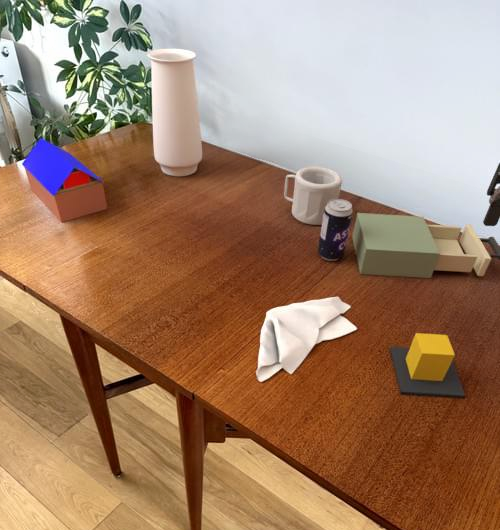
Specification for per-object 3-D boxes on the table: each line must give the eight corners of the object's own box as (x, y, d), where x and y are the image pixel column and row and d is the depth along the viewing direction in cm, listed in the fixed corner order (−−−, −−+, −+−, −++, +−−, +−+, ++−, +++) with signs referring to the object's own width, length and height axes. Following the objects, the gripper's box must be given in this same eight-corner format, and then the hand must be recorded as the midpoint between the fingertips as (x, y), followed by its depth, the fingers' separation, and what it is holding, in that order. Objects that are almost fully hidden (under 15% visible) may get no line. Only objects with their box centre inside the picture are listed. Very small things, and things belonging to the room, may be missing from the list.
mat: (447, 352, 80) (448, 350, 79) (464, 398, 72) (465, 395, 72) (389, 349, 80) (390, 346, 79) (400, 394, 72) (401, 391, 72)
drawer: (484, 242, 105) (491, 225, 102) (505, 277, 95) (514, 260, 92) (405, 237, 105) (410, 220, 102) (417, 272, 95) (424, 254, 92)
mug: (341, 211, 115) (348, 172, 108) (326, 230, 108) (333, 190, 101) (291, 197, 119) (295, 159, 112) (273, 215, 112) (277, 175, 105)
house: (60, 223, 105) (47, 173, 97) (29, 189, 116) (15, 143, 109) (109, 208, 111) (100, 161, 103) (75, 178, 122) (65, 133, 114)
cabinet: (415, 240, 106) (423, 216, 102) (430, 278, 96) (440, 253, 91) (352, 236, 106) (357, 212, 102) (360, 274, 96) (366, 248, 91)
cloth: (319, 285, 92) (320, 276, 91) (373, 322, 85) (376, 312, 83) (214, 341, 79) (214, 331, 78) (267, 390, 72) (268, 380, 70)
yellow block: (435, 360, 77) (447, 334, 73) (442, 381, 74) (455, 355, 70) (405, 359, 77) (415, 332, 73) (411, 379, 74) (422, 353, 70)
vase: (206, 177, 126) (203, 60, 107) (157, 180, 123) (146, 61, 104) (198, 158, 135) (195, 47, 116) (153, 160, 132) (142, 47, 113)
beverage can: (329, 265, 97) (339, 214, 89) (311, 253, 101) (319, 202, 92) (348, 257, 100) (360, 206, 92) (330, 245, 103) (340, 195, 95)
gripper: (592, 162, 62) (537, 262, 73) (545, 124, 72) (504, 217, 84) (535, 160, 62) (490, 261, 73) (497, 122, 72) (462, 216, 84)
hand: (497, 237), depth 78 cm, fingers open, 8 cm apart
